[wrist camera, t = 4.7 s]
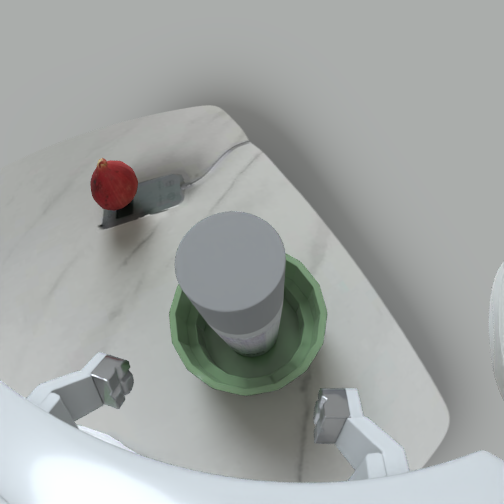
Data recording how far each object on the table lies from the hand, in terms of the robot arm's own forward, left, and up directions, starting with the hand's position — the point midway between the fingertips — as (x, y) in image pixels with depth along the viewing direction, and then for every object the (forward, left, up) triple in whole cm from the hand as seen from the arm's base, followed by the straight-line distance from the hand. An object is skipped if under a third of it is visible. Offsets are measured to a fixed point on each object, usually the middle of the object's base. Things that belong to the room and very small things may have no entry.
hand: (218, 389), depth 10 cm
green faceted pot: (0, -5, -14) cm, 14 cm away
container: (0, -5, -13) cm, 14 cm away
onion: (+19, -17, -14) cm, 29 cm away
